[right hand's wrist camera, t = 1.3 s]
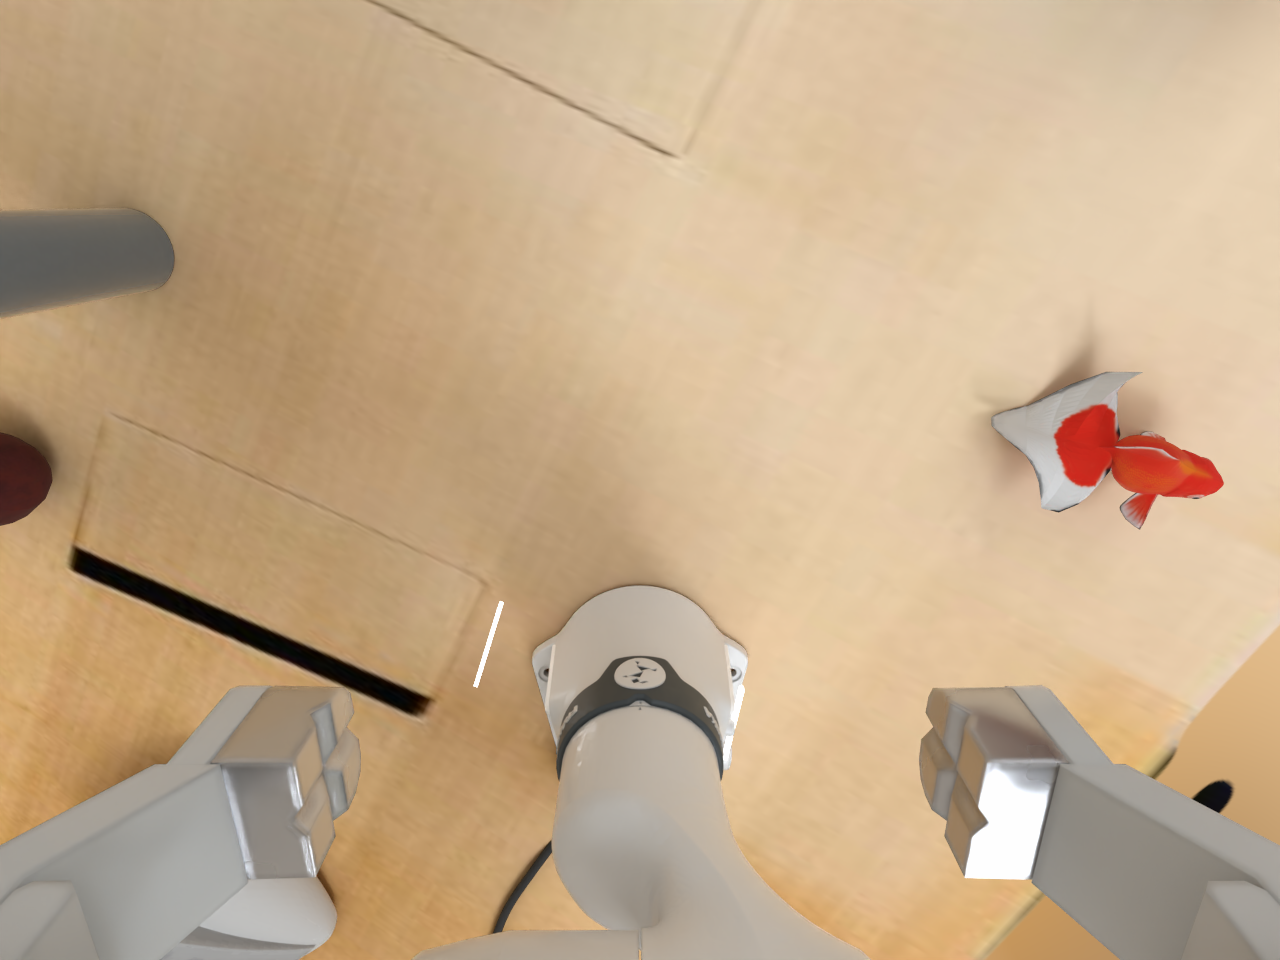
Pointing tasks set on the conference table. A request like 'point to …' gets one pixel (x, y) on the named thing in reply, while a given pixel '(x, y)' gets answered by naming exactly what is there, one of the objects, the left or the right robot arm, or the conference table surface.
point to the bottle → (78, 257)
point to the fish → (1100, 450)
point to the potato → (21, 479)
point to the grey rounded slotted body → (264, 923)
